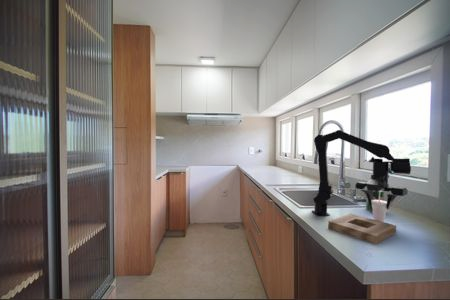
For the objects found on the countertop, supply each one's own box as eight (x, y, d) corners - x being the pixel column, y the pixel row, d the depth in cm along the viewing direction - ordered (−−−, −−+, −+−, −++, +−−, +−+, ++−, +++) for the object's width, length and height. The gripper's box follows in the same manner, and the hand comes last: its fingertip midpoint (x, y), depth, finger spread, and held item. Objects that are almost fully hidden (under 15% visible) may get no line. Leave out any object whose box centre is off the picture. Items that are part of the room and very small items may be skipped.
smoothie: (386, 221, 104) (387, 191, 103) (388, 226, 98) (389, 194, 98) (370, 219, 107) (370, 189, 106) (370, 223, 101) (371, 192, 101)
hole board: (328, 228, 96) (328, 221, 96) (350, 219, 106) (350, 213, 106) (375, 244, 81) (376, 235, 81) (395, 232, 91) (396, 225, 91)
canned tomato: (373, 212, 117) (373, 191, 117) (362, 208, 125) (363, 188, 125) (387, 212, 118) (388, 191, 117) (376, 207, 126) (376, 188, 125)
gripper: (349, 171, 105) (348, 205, 105) (398, 176, 89) (396, 216, 90) (361, 169, 111) (360, 201, 112) (408, 174, 96) (407, 211, 96)
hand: (379, 207), depth 102 cm, fingers closed on smoothie, 6 cm apart
